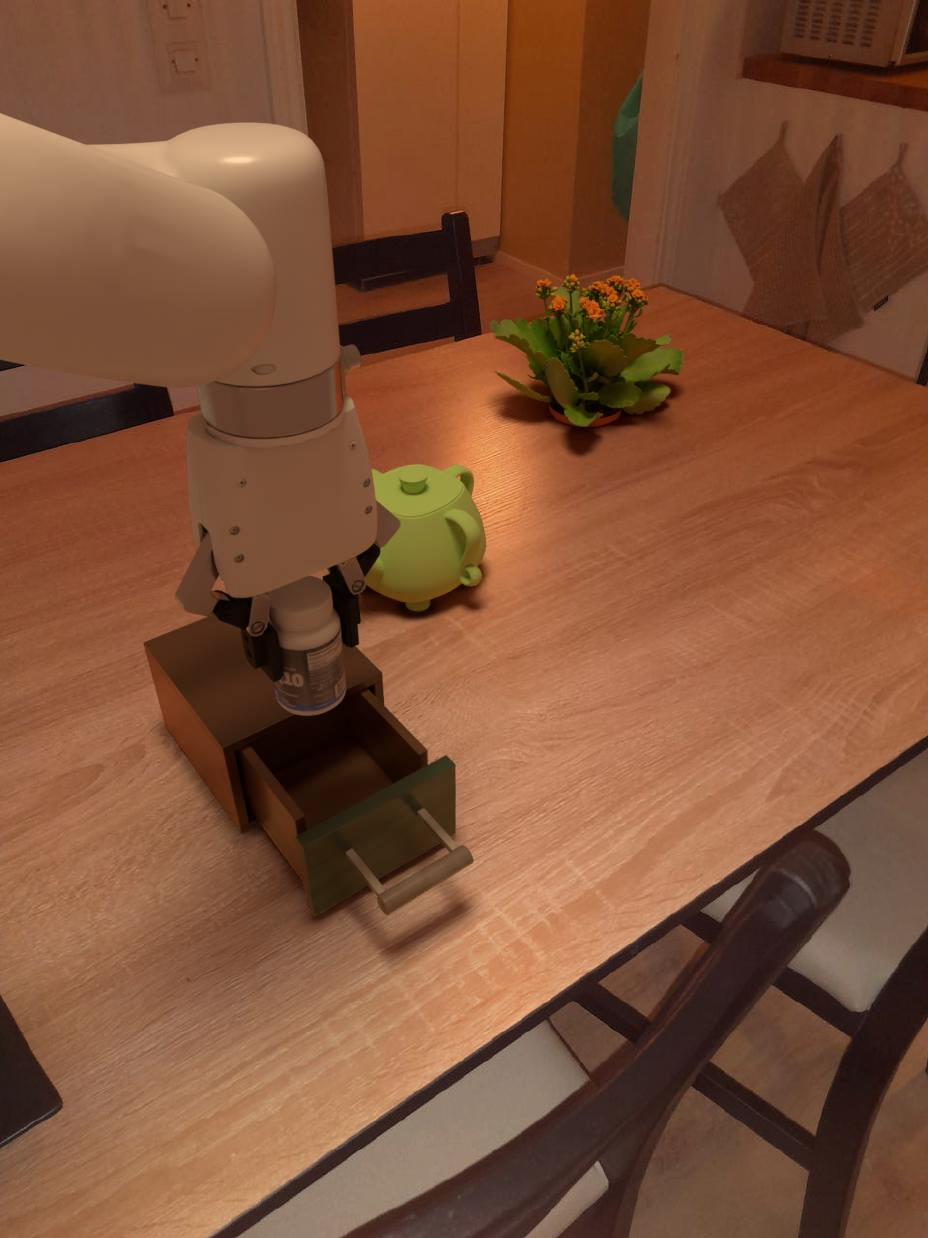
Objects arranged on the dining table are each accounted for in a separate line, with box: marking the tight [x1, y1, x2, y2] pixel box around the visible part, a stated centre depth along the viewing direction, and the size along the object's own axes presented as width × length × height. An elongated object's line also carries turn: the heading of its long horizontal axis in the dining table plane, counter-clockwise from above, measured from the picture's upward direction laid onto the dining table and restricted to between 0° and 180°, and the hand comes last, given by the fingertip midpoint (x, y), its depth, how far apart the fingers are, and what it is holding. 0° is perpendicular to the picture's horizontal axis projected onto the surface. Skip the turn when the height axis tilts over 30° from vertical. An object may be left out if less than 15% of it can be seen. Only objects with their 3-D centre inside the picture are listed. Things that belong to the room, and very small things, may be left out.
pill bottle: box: [268, 575, 346, 716], centre depth 62 cm, size 5×5×8 cm
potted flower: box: [489, 273, 684, 428], centre depth 125 cm, size 25×24×18 cm
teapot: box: [365, 463, 487, 612], centre depth 97 cm, size 16×14×13 cm
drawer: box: [234, 688, 474, 917], centre depth 71 cm, size 19×12×8 cm, turn 37°
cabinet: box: [142, 616, 385, 834], centre depth 80 cm, size 15×14×10 cm
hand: (305, 649), depth 62 cm, fingers closed on pill bottle, 4 cm apart
